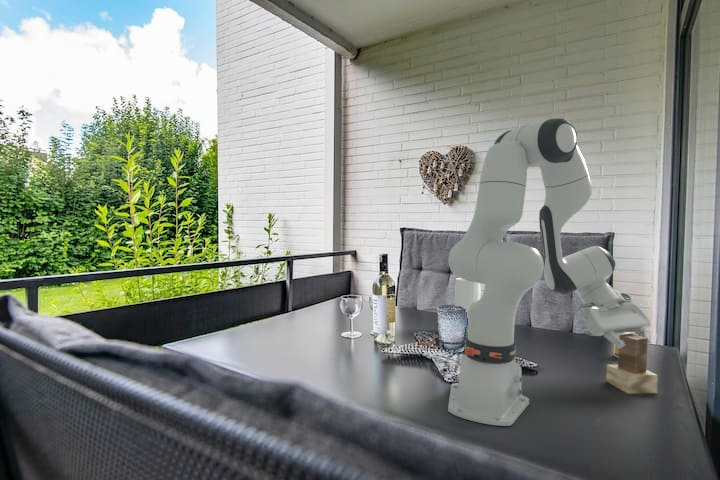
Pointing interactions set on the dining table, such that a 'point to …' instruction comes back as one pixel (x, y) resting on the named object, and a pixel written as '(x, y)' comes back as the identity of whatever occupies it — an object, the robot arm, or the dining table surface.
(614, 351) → the supplement bottle
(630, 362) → the walnut block
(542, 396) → the dining table surface
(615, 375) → the oak block
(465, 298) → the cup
